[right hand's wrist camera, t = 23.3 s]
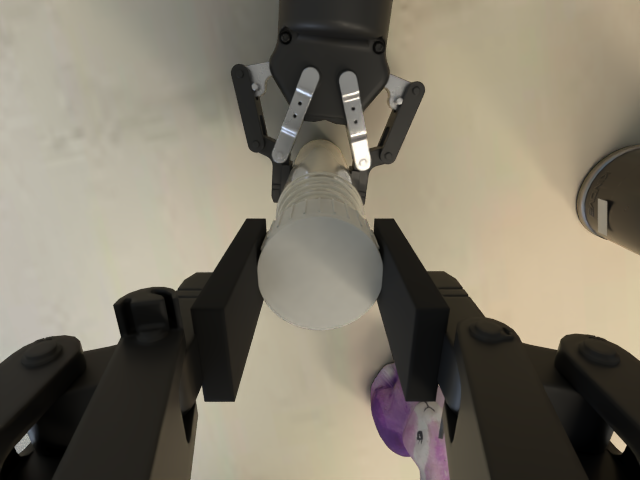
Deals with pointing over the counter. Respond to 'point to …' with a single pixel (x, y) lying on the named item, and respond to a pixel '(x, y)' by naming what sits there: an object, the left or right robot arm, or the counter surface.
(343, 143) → the counter surface
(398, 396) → the figurine
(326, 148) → the bottle
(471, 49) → the counter surface
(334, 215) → the cap
